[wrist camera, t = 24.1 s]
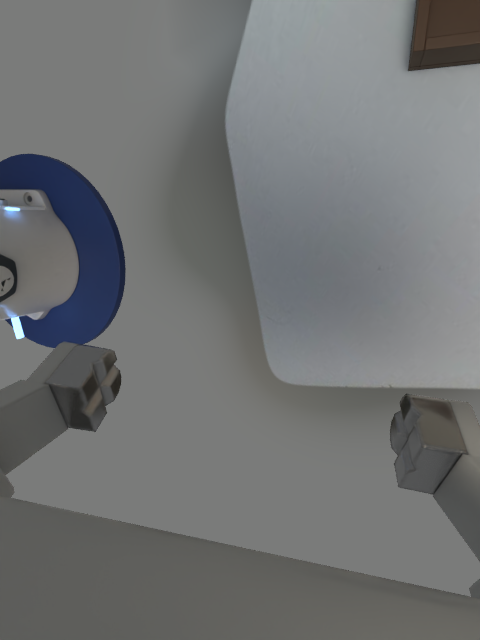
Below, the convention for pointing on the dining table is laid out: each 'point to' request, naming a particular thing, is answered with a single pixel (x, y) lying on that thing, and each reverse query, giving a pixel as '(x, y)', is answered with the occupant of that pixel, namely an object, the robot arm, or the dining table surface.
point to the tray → (445, 34)
